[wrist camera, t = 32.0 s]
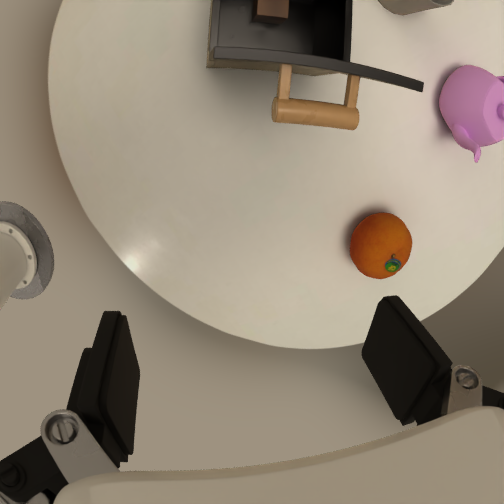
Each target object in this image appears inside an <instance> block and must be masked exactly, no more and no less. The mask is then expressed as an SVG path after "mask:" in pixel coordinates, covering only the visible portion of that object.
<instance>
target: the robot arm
mask: <svg viewBox="0 0 504 504" xmlns="http://www.w3.org/2000/svg"><path fill="white" fill-rule="evenodd" d="M36 270H37V259H36V254H35V251H34V248H33V246H32V244H31V242H30V240H29V239H28V237H27V236H26V235H25V234H24V233H23V232H22V230H21V229H19V228H18V227H17V226H15V225H13V224H11V223H9V222H5V221H0V310H1V309H2V307H3V306H4V304H5V303H6V301H7V300H8V298H9V297H10V296H11V294H12V293H13V291H14V290H15V289H21V288H24V287H26V286H27V285H29V283H30V282H31V281H32V279H33V278H34V276H35V274H36ZM362 358H363V360H364V361H365V363H366V365H367V367H368V369H369V370H370V372H371V374H372V376H373V377H374V379H375V381H376V383H377V384H378V387H379V388H380V390H381V391H382V394H383V395H384V397H385V399H386V401H387V403H388V405H389V407H390V408H391V410H392V412H393V414H394V416H395V417H396V419H398V420H400V422H401V423H402V425H403V426H404V425H406V424H410V423H412V422H414V421H415V420H416V422H417V426H416V427H413V428H411V429H408V430H405V431H402V432H399V433H397V434H393V435H390V436H387V437H384V438H381V439H378V440H374V441H371V442H367V443H364V444H361V445H357V446H353V447H349V448H345V449H341V450H337V451H333V452H329V453H325V454H320V455H315V456H311V457H306V458H300V459H295V460H289V461H282V462H276V463H269V464H263V465H254V466H246V467H236V468H222V469H208V470H184V471H125V472H120V471H119V470H118V468H119V467H120V462H128V455H132V454H133V449H134V433H135V420H136V409H137V399H138V389H139V380H140V369H139V365H138V361H137V357H136V354H135V350H134V346H133V342H132V338H131V334H130V329H129V325H128V321H127V317H126V316H125V315H121V312H120V311H104V313H103V315H102V318H101V321H100V324H99V327H98V330H97V333H96V337H95V340H94V343H93V346H92V348H85V349H84V351H83V353H82V356H81V359H80V362H79V366H78V369H77V372H76V376H75V379H74V383H73V386H72V390H71V393H70V397H69V401H68V405H67V409H66V410H64V409H63V410H56V411H54V412H51V413H50V414H49V415H47V416H46V417H45V419H44V420H43V422H42V425H41V436H40V437H38V438H37V439H35V440H33V441H32V442H30V443H29V444H27V445H25V446H24V447H22V448H21V449H19V450H17V451H16V452H14V453H13V454H11V455H9V456H7V457H6V458H4V459H3V460H1V461H0V504H504V393H501V392H499V391H496V390H493V389H491V388H487V387H485V386H482V380H481V377H480V375H479V374H478V373H477V372H476V371H475V370H474V369H473V368H471V367H468V366H465V365H459V366H456V367H455V368H454V369H453V370H452V369H451V365H452V362H451V360H450V359H449V358H448V356H447V355H446V354H445V352H444V351H443V350H442V349H441V347H440V346H439V345H438V343H437V342H436V341H435V340H434V338H433V337H432V336H431V335H430V334H429V332H428V331H427V330H426V329H425V327H424V326H423V325H422V324H421V322H420V321H419V320H418V319H417V318H416V316H415V315H414V314H413V313H412V312H411V310H410V309H409V308H408V307H407V306H406V305H405V303H404V302H403V301H402V300H401V299H400V297H398V296H396V295H395V296H386V297H383V298H382V300H381V301H380V302H379V303H378V305H377V308H376V311H375V314H374V317H373V320H372V323H371V326H370V329H369V332H368V335H367V337H366V340H365V343H364V346H363V348H362Z"/></svg>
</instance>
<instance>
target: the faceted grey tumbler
mask: <svg viewBox="0 0 504 504" xmlns="http://www.w3.org/2000/svg"><path fill="white" fill-rule="evenodd" d="M453 1H454V0H379V2H380V3H381V4H382V5H383V7H385V8H386V9H388V10H389V11H391V12H392V13H394V14H399V15H407V14H411V13H415V12H419V11H424V10H428V9H433V8H438V7H444V6H448V5H451V4H452V3H453Z"/></svg>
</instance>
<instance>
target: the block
mask: <svg viewBox="0 0 504 504" xmlns="http://www.w3.org/2000/svg"><path fill="white" fill-rule="evenodd" d="M288 9H289V0H253V8H252V22H262V23H272V24H282V23H283V22H284V21H285V20H286V19H288Z"/></svg>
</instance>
